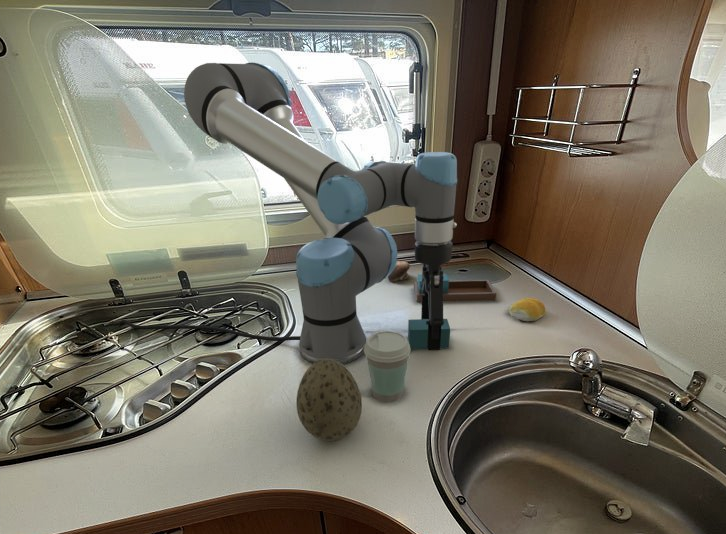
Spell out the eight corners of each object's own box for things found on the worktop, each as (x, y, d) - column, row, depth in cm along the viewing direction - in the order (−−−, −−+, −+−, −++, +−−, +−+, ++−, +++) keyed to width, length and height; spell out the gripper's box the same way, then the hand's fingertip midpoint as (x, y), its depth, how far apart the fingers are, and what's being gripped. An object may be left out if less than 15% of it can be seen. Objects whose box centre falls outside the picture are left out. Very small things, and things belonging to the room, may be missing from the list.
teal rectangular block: (409, 349, 96) (410, 329, 93) (408, 338, 100) (408, 319, 97) (448, 348, 96) (450, 328, 94) (445, 337, 100) (447, 318, 98)
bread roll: (549, 313, 110) (552, 299, 107) (532, 325, 105) (535, 310, 102) (520, 304, 114) (523, 290, 112) (503, 315, 109) (505, 301, 107)
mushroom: (420, 268, 128) (408, 252, 125) (408, 286, 124) (395, 270, 121) (403, 274, 134) (391, 259, 131) (391, 292, 131) (378, 276, 128)
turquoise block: (418, 298, 117) (419, 281, 114) (417, 291, 121) (417, 274, 118) (447, 297, 117) (449, 280, 114) (445, 290, 121) (446, 273, 118)
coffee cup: (380, 376, 88) (379, 325, 81) (417, 388, 84) (419, 336, 77) (357, 398, 82) (354, 345, 75) (395, 412, 78) (396, 358, 71)
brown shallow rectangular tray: (416, 303, 116) (417, 295, 114) (413, 289, 123) (414, 281, 122) (495, 301, 116) (496, 293, 114) (487, 287, 124) (488, 279, 122)
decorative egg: (369, 416, 77) (366, 346, 69) (355, 459, 69) (349, 385, 60) (313, 410, 79) (303, 341, 70) (292, 451, 71) (278, 378, 62)
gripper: (463, 261, 74) (455, 362, 87) (443, 223, 95) (439, 309, 107) (420, 262, 74) (418, 364, 87) (410, 224, 95) (409, 310, 107)
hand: (430, 334), depth 97 cm, fingers open, 13 cm apart
